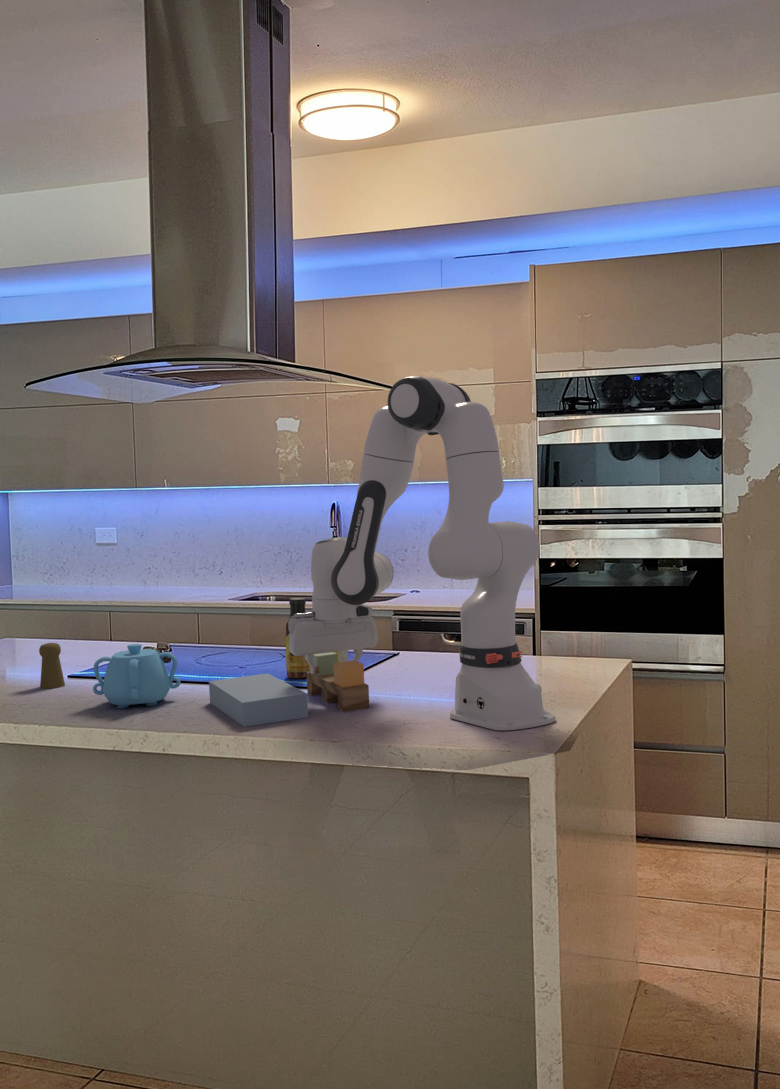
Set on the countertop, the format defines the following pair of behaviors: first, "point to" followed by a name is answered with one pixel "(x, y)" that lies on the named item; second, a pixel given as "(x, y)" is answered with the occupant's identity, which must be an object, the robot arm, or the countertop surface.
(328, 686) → the walnut pallet
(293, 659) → the sauce bottle
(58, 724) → the countertop surface
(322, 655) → the block
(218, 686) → the block
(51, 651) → the cork
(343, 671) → the orange crate
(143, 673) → the decorative pot
